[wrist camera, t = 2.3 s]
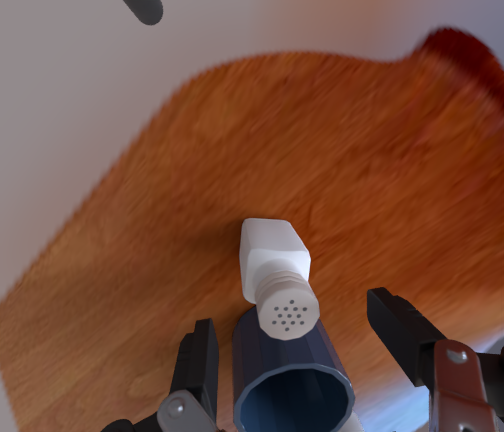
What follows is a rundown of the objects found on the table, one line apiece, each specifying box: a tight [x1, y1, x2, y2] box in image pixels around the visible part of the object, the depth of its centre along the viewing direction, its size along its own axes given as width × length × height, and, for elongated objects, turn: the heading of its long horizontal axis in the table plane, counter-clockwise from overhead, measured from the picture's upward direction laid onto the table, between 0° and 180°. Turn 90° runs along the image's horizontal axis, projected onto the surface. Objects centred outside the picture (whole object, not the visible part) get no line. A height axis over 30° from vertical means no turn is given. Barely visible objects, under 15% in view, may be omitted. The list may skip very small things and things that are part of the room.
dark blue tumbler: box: [232, 306, 355, 432], centre depth 22 cm, size 9×9×7 cm
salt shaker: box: [239, 218, 320, 340], centre depth 18 cm, size 4×4×10 cm
